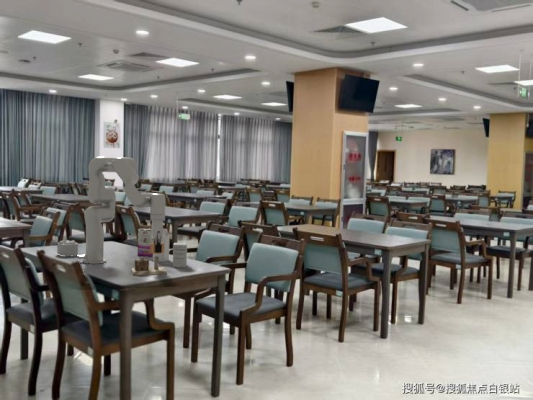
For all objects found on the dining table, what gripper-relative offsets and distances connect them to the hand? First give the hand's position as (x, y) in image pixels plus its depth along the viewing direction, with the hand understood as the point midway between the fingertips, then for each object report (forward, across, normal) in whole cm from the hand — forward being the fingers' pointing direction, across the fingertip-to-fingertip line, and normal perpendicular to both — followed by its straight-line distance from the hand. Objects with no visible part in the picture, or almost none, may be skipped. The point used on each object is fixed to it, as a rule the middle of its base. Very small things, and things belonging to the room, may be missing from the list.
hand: (157, 251), depth 277 cm
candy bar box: (+11, -51, 0) cm, 53 cm away
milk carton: (+11, -33, +6) cm, 36 cm away
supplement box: (+11, -15, +14) cm, 24 cm away
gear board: (+11, 0, -4) cm, 12 cm away
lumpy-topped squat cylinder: (+10, -60, -46) cm, 76 cm away
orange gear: (+1, 0, 0) cm, 1 cm away
